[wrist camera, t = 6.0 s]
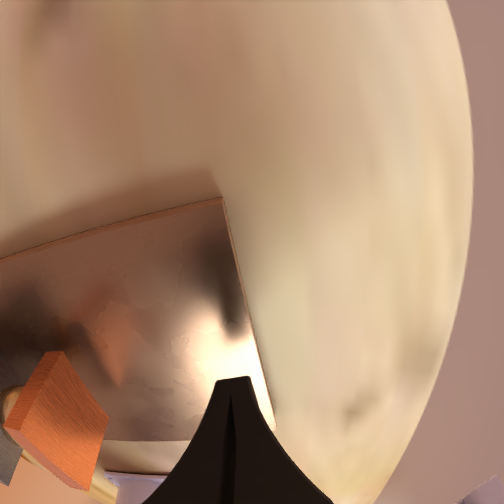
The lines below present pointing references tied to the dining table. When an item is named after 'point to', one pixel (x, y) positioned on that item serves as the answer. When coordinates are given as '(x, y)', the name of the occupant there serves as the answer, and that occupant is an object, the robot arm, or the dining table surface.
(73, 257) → the bearing base
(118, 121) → the dining table surface
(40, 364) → the shaft
